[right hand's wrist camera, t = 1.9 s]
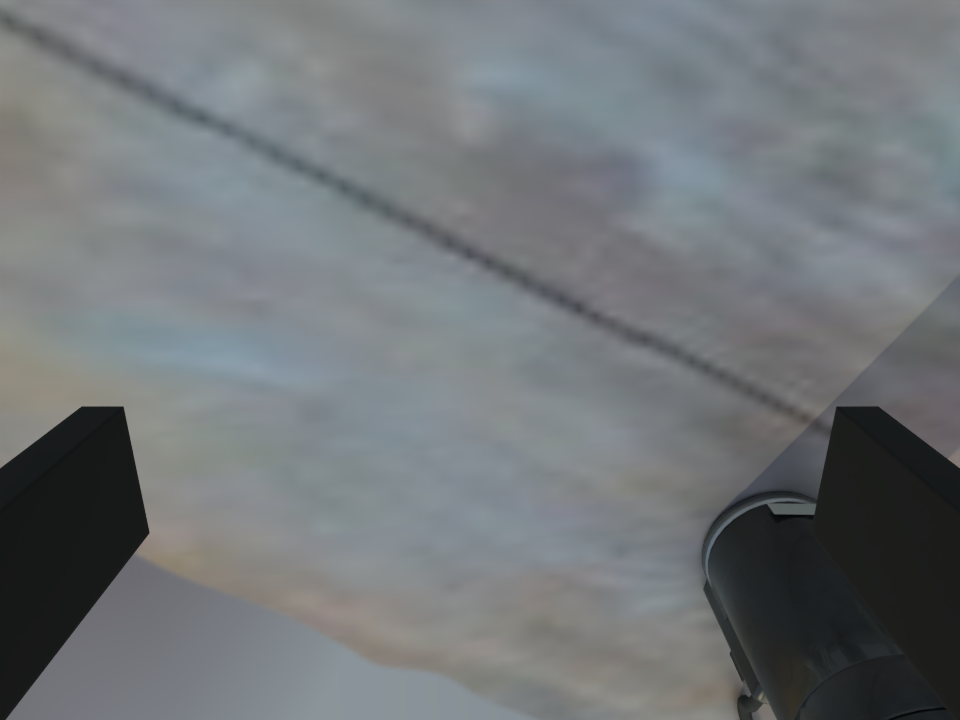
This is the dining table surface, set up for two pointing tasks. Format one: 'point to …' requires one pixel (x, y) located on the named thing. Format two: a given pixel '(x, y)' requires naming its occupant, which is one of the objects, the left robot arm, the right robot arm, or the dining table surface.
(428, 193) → the dining table surface
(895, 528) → the right robot arm
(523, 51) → the dining table surface
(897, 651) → the left robot arm
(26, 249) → the dining table surface
